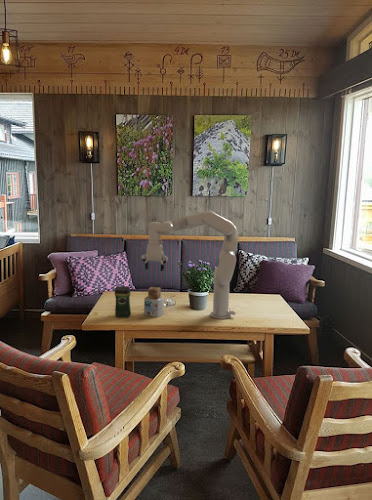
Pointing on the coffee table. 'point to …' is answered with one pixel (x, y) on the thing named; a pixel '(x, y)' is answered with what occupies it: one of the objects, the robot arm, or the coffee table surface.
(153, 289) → the walnut cube
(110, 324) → the coffee table surface
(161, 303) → the light bulb box
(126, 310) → the coffee jar
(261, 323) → the coffee table surface
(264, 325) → the coffee table surface
